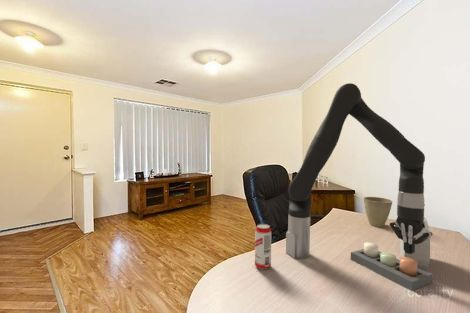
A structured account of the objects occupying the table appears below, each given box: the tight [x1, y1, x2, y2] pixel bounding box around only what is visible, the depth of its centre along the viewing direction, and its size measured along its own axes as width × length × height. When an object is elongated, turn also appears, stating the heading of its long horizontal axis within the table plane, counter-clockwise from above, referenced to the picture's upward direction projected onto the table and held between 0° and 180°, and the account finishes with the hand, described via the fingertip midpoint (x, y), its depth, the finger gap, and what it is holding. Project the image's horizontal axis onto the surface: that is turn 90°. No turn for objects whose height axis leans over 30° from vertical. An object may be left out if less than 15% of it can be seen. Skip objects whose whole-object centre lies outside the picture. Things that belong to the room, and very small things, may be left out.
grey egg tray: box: [350, 248, 434, 292], centre depth 87 cm, size 12×23×3 cm, turn 24°
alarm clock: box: [399, 216, 431, 272], centre depth 93 cm, size 21×8×20 cm, turn 148°
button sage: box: [380, 251, 397, 267], centre depth 87 cm, size 5×5×4 cm
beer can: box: [254, 223, 272, 271], centre depth 88 cm, size 6×6×16 cm
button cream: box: [363, 242, 379, 258], centre depth 93 cm, size 5×5×4 cm
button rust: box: [399, 256, 418, 277], centre depth 80 cm, size 5×5×4 cm
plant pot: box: [363, 196, 393, 228], centre depth 139 cm, size 15×15×16 cm
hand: (409, 253), depth 80 cm, fingers closed
